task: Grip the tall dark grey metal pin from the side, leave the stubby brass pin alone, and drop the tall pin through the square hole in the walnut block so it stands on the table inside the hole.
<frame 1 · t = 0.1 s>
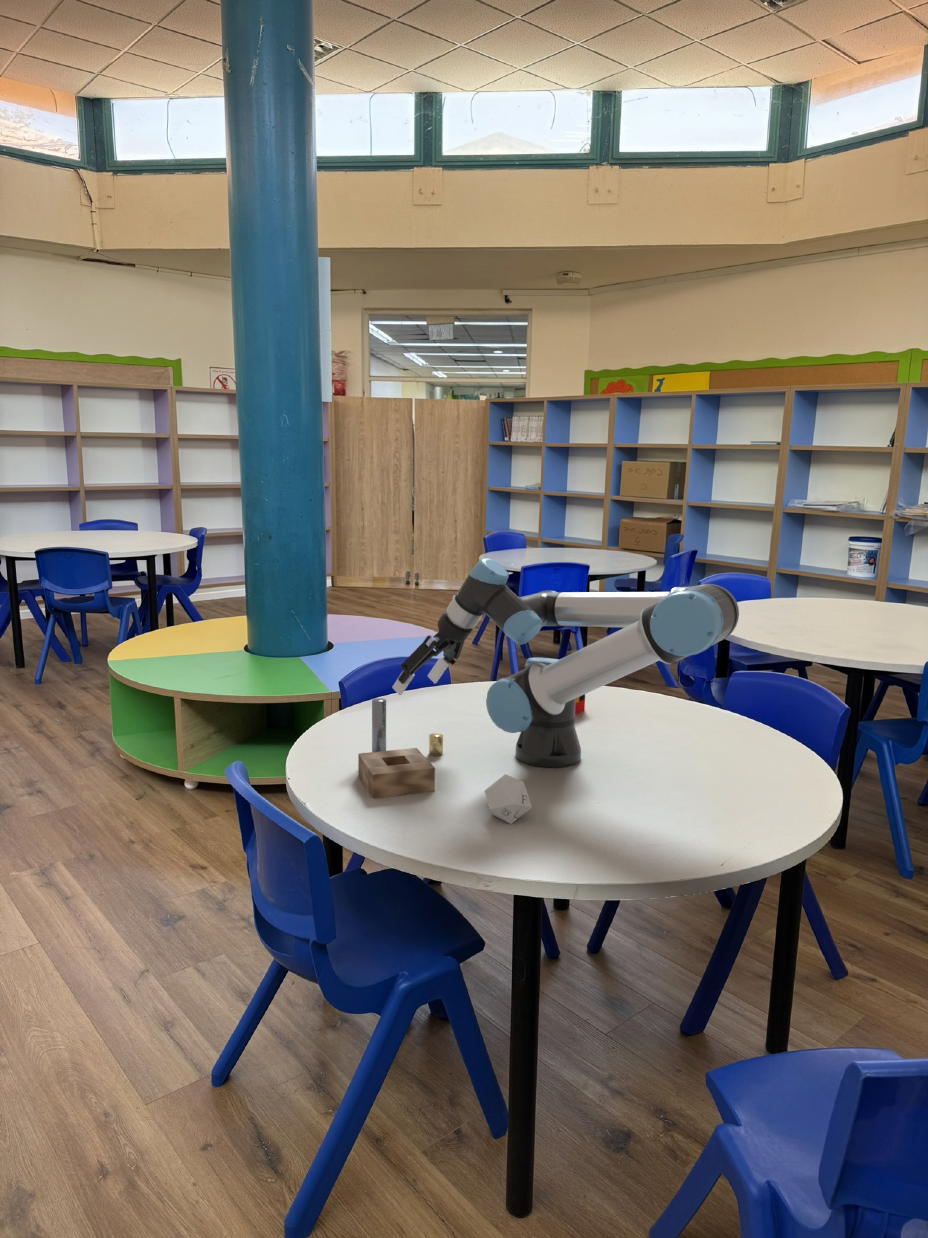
hand: (414, 685, 193), 15 cm above the table, tool tilted 35°, fingers open, 13 cm apart
short brass pin: (435, 753, 191), on the table
puzzle toy: (559, 712, 228), on the table
die: (507, 818, 157), on the table
long metal pin: (379, 759, 187), on the table
hole block: (395, 783, 173), on the table
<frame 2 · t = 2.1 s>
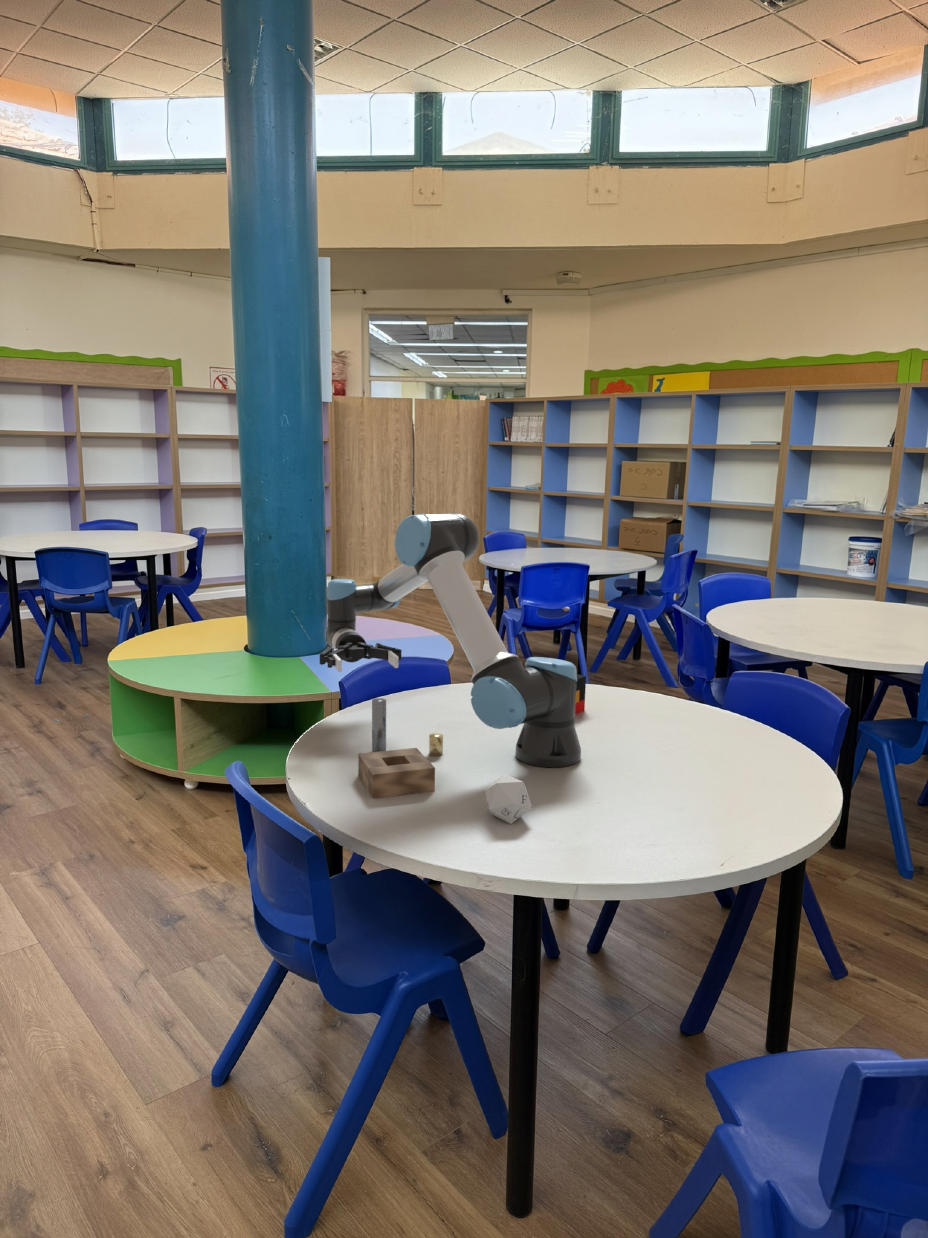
hand: (368, 664, 192), 20 cm above the table, tool horizontal, fingers open, 13 cm apart
nothing on the table moved.
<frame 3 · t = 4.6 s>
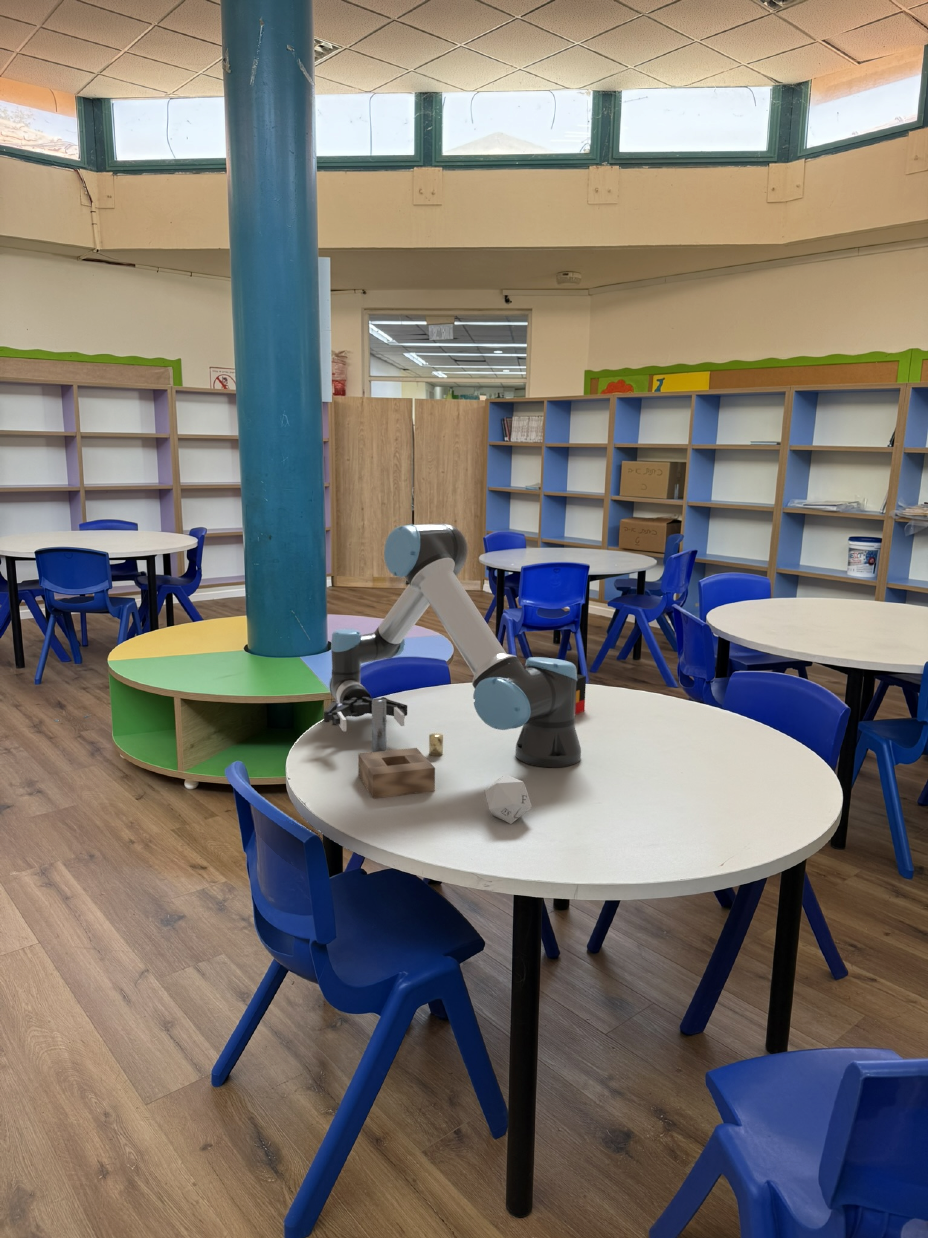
hand: (374, 723, 188), 8 cm above the table, tool horizontal, fingers open, 13 cm apart
nothing on the table moved.
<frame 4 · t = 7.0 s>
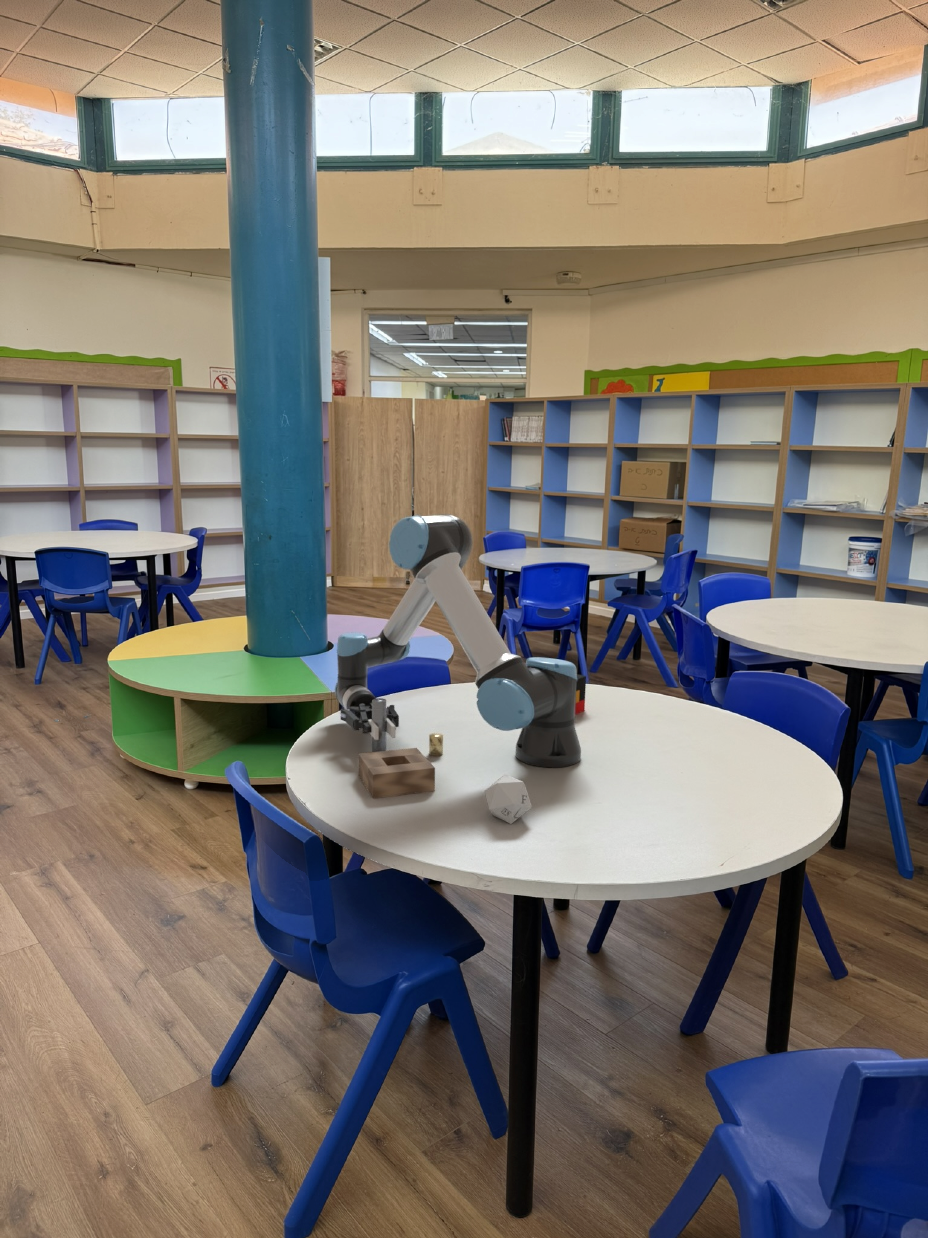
hand: (385, 733, 180), 8 cm above the table, tool horizontal, fingers closed on long metal pin, 3 cm apart
long metal pin: (379, 759, 187), on the table, touching gripper
everything else where it was.
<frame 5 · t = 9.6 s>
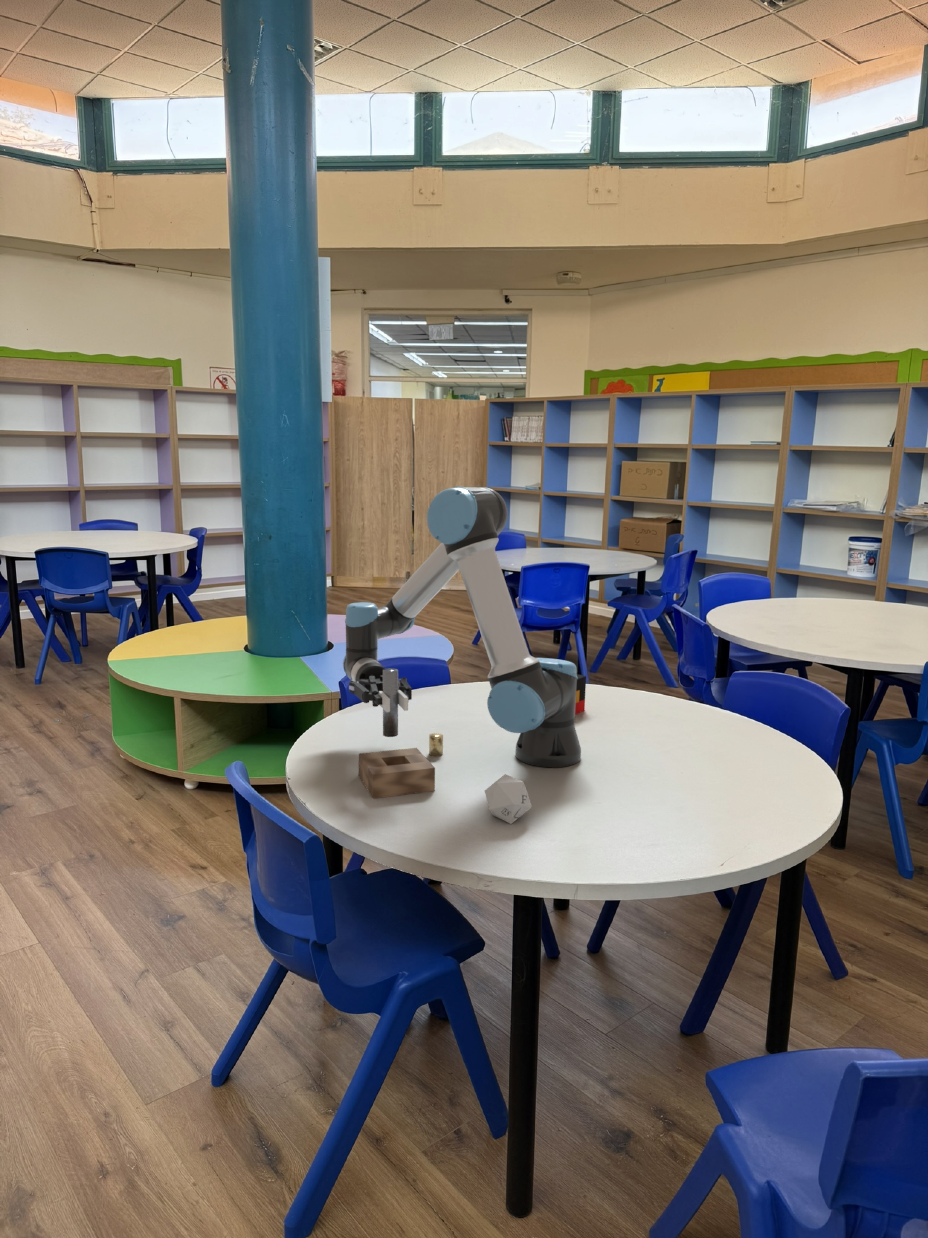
hand: (397, 704, 167), 18 cm above the table, tool horizontal, fingers closed on long metal pin, 3 cm apart
long metal pin: (390, 734, 173), point 10 cm above the table, touching gripper
everything else where it was.
when the fingers open (11 cm above the table, at t = 12.5 s): long metal pin drops 3 cm, resting in hole block.
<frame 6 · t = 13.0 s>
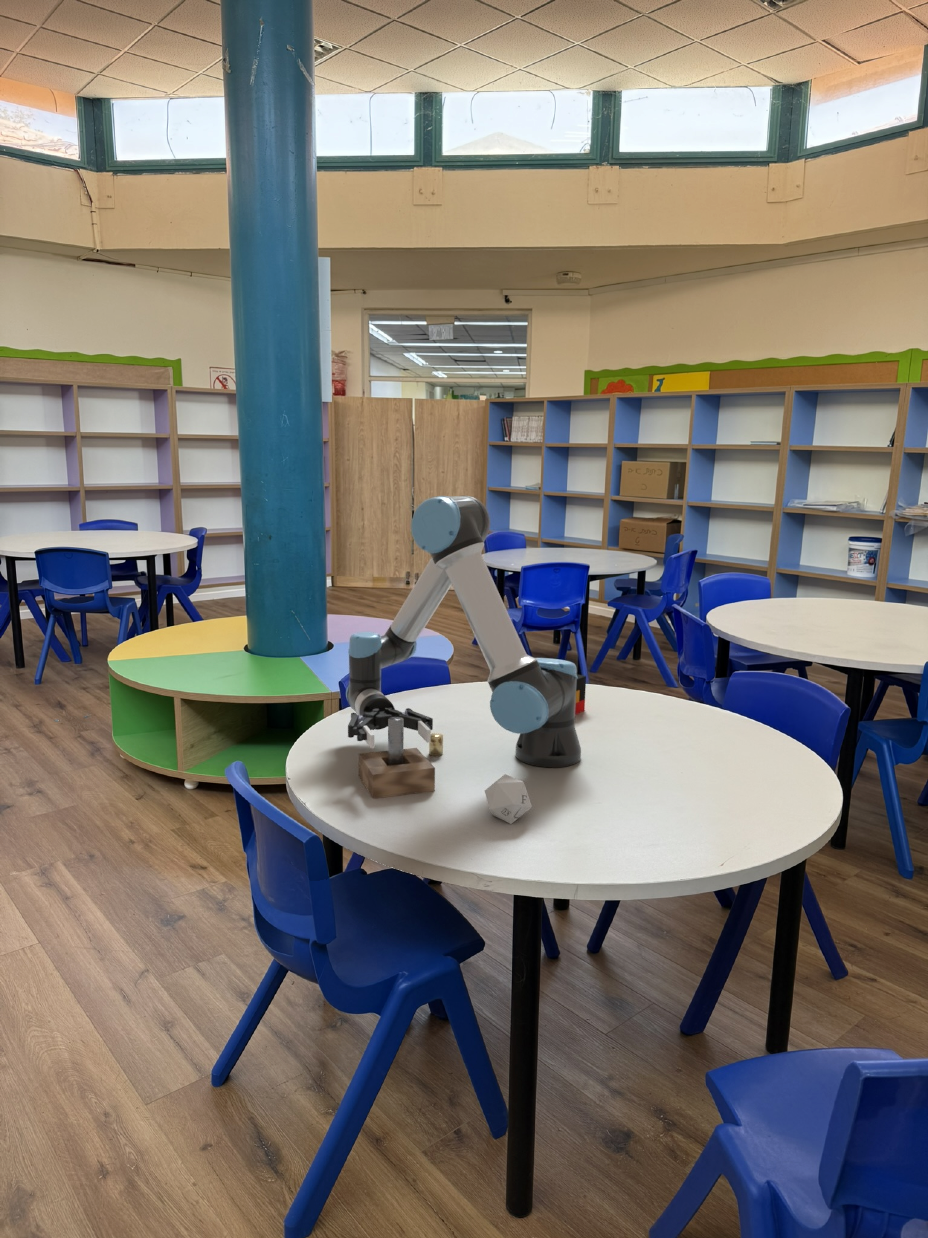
hand: (401, 738, 167), 11 cm above the table, tool horizontal, fingers open, 11 cm apart
long metal pin: (395, 783, 173), resting in hole block
everything else where it was.
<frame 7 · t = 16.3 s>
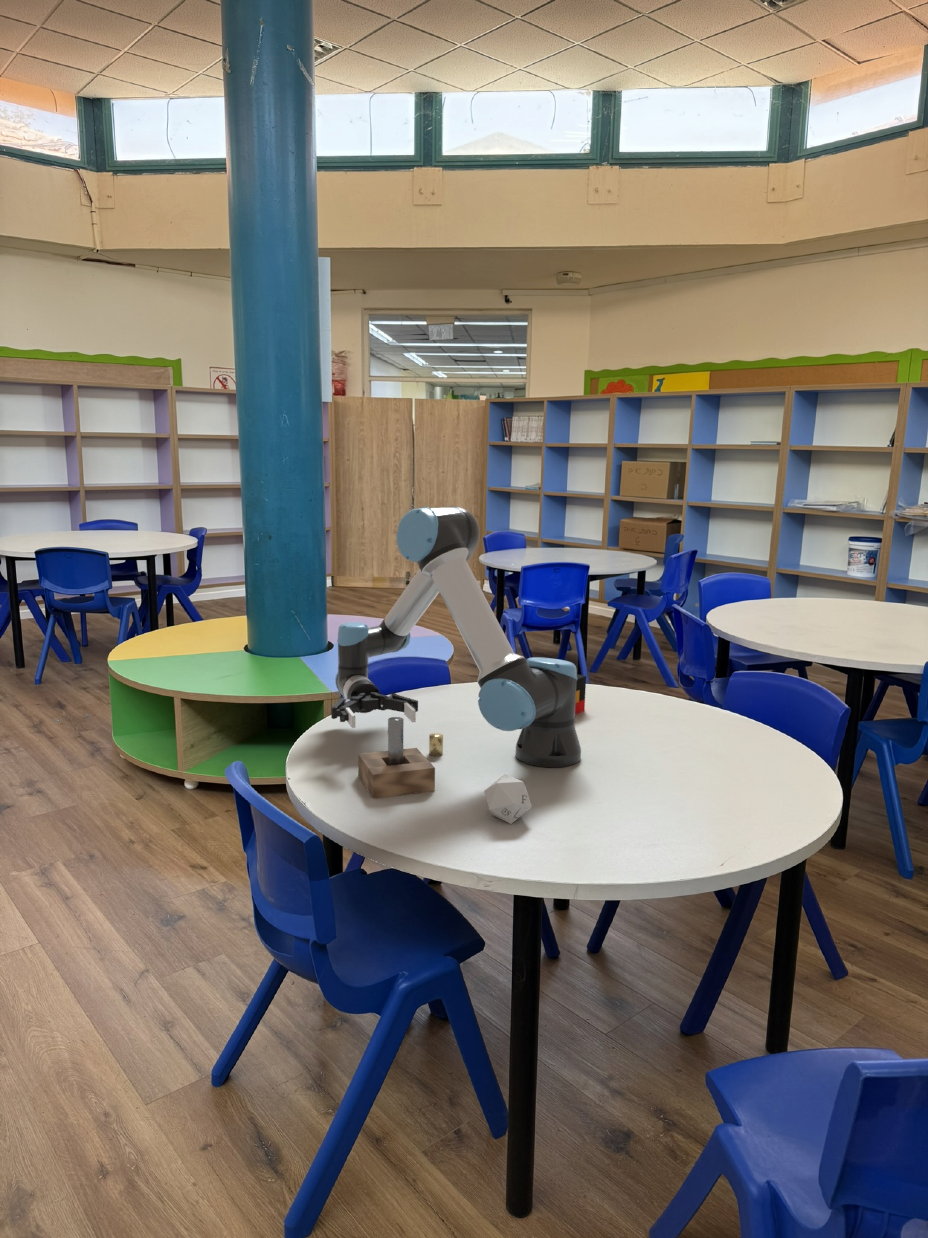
hand: (384, 719, 180), 11 cm above the table, tool horizontal, fingers open, 13 cm apart
nothing on the table moved.
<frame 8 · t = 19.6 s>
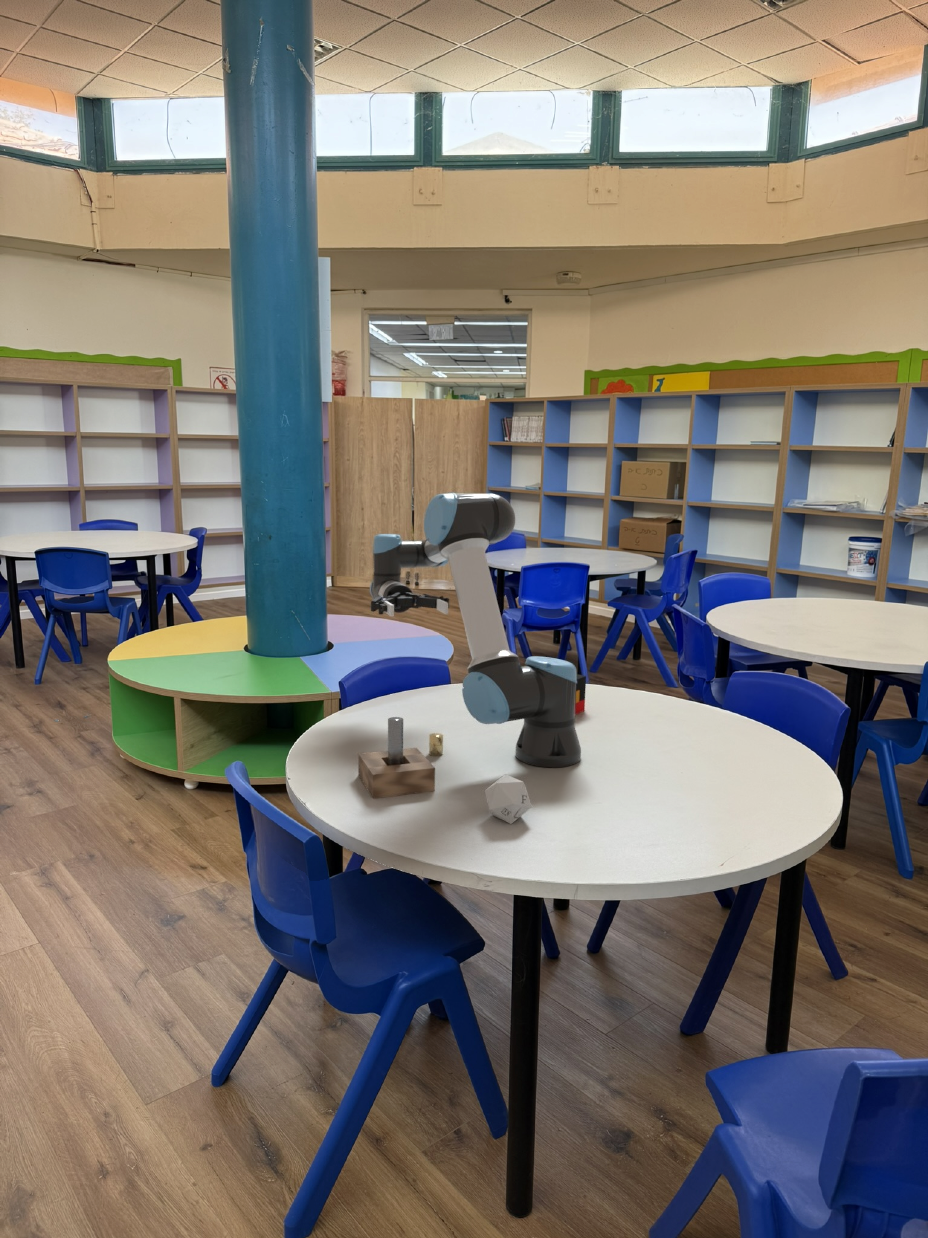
hand: (419, 609, 197), 32 cm above the table, tool horizontal, fingers open, 13 cm apart
nothing on the table moved.
at the end: long metal pin 0.1 cm off-centre on the hole block, point 0.0 cm above the hole block's base; long metal pin tilted 0°; short brass pin moved 0.0 cm from its start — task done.
